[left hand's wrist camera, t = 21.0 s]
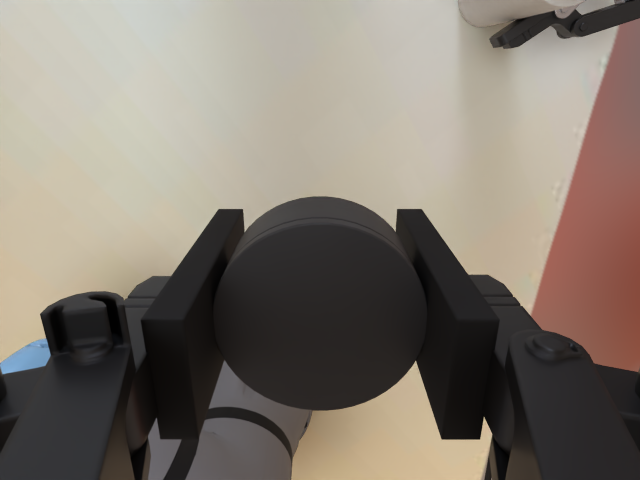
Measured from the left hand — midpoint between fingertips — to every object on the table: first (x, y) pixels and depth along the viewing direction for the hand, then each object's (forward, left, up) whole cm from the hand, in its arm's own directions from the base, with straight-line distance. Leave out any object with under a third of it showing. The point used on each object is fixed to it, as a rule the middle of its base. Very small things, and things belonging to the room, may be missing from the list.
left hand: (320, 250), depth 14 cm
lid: (0, 0, +4) cm, 4 cm away
